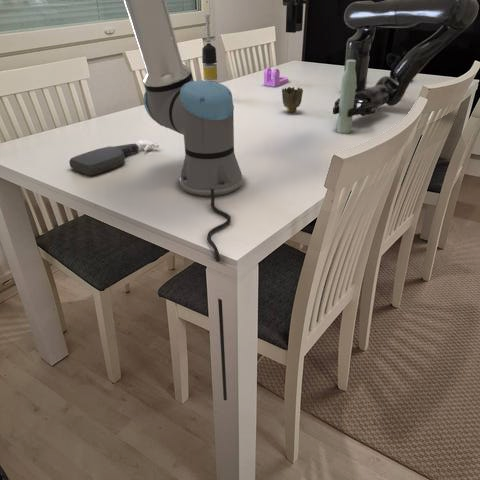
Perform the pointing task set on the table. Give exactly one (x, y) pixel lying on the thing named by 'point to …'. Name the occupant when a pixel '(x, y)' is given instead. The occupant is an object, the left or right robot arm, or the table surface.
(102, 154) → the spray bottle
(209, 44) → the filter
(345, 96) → the bottle
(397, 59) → the squiggle
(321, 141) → the table surface
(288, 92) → the cup
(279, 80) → the bracket
